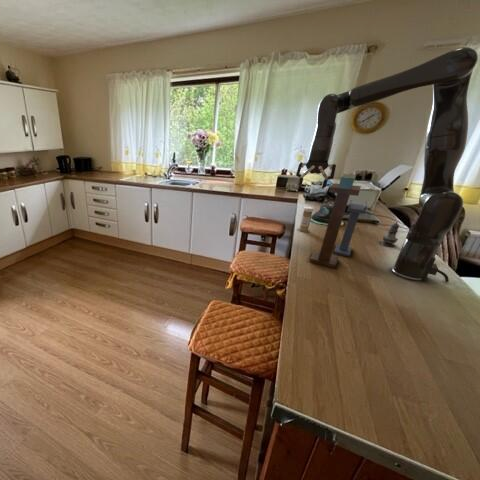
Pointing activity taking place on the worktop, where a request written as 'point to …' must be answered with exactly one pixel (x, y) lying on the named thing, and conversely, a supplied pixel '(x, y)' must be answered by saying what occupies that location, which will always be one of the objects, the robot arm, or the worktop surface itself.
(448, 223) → the robot arm
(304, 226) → the sprinkles bottle
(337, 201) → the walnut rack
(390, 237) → the dark grey figurine
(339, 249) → the blue grey stand
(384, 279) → the worktop surface
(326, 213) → the dark green shoe
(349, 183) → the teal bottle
